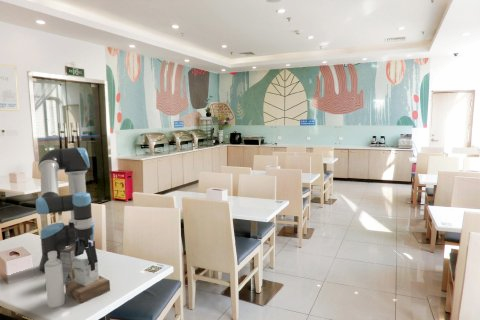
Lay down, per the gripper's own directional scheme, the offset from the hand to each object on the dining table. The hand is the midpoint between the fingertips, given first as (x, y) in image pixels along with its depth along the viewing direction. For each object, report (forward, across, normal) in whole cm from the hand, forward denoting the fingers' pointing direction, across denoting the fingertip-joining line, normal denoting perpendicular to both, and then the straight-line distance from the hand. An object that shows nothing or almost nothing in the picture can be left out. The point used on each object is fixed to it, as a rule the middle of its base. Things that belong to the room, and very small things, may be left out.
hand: (86, 274), depth 159 cm
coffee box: (+9, -20, +3) cm, 22 cm away
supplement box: (+4, 0, 0) cm, 4 cm away
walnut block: (+9, 0, 0) cm, 9 cm away
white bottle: (+9, -2, -14) cm, 16 cm away
